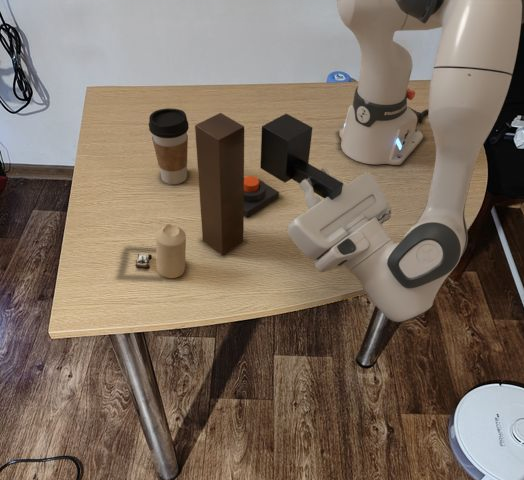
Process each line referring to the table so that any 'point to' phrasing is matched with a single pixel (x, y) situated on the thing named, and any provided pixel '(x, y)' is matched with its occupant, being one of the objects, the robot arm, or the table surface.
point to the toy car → (143, 260)
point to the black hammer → (293, 155)
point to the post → (221, 181)
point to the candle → (170, 251)
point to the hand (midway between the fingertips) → (311, 175)
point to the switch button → (251, 184)
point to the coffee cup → (170, 143)
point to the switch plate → (259, 198)
